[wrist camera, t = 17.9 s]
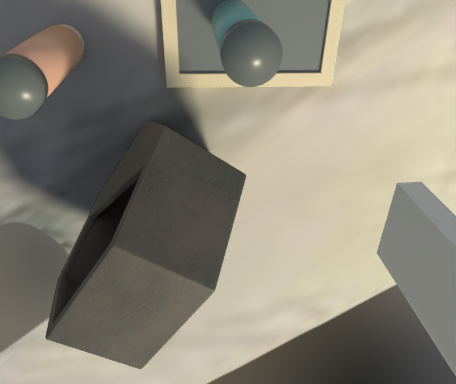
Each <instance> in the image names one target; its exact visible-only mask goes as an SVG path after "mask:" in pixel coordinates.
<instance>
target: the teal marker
mask: <svg viewBox="0 0 456 384" xmlns="http://www.w3.org/2000/svg"><path fill="white" fill-rule="evenodd" d="M211 26H212V30H213V33H214V36H215V39H216V43H217V46H218V49H219V52H220V58H221V62H222V65H223V68H224V70H225V72H226V74H227V76H228V77H229V78H230V79H231V80H232V81H233V82H235V83H237V84H239V85H241V86H245V87H256V86H260V85H263V84H265V83H266V82H268V81H269V80H271V79H272V78H273V77H274V76H275V74H276V73H277V72H278V70H279V68H280V65H281V62H282V57H283V50H282V45H281V42H280V40H279V38H278V36H277V35H276V33H275V32H274V31H273V30H272V29H271V28H270V27H269V26H268V25H266V24H265V23H263V22H262V21H261V20H260V19H259V18H258V16H257V15H256V14H255V13H254V12H253V11H252V10H251V9H250V8H249V7H248V6H247V5H246V4H245V3H243V2H242V1H239V0H225V1H223V2H221V3H220V4H219V5H218V6H217V7H216V8H215V10H214V12H213V14H212V19H211Z"/></svg>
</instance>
